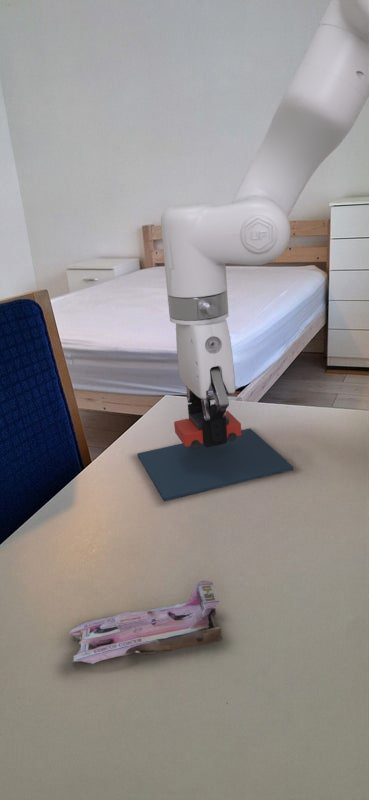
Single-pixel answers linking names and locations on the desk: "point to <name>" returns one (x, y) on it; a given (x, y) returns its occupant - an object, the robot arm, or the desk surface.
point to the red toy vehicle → (192, 429)
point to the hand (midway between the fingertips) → (208, 435)
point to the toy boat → (151, 628)
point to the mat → (211, 465)
